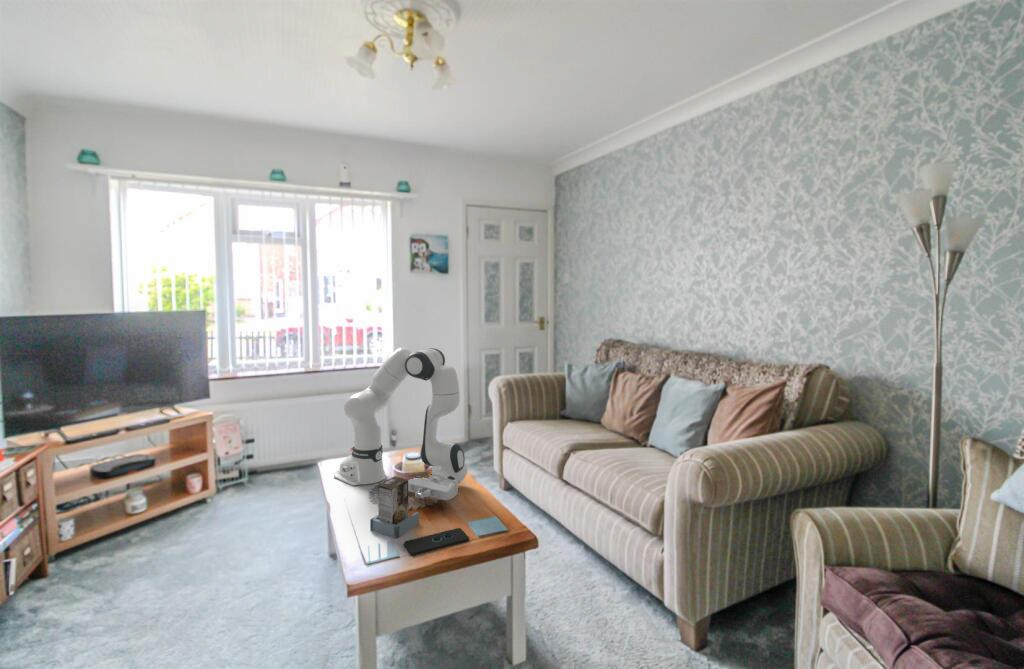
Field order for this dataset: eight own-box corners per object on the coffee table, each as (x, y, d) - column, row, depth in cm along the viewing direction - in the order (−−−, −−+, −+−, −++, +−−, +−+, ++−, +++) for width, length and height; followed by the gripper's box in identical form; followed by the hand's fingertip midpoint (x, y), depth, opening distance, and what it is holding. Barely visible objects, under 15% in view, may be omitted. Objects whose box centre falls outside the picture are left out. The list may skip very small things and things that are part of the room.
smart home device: (469, 537, 161) (411, 553, 151) (469, 542, 161) (411, 558, 151) (459, 526, 168) (403, 540, 158) (459, 531, 168) (403, 546, 158)
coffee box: (394, 518, 175) (394, 475, 174) (409, 522, 173) (409, 479, 171) (377, 530, 167) (377, 484, 165) (392, 534, 164) (392, 488, 163)
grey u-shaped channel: (370, 530, 167) (370, 519, 166) (393, 515, 177) (393, 505, 177) (396, 538, 162) (396, 527, 161) (419, 523, 173) (419, 512, 172)
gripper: (418, 470, 197) (396, 482, 185) (461, 480, 189) (440, 493, 176) (418, 485, 198) (396, 498, 186) (460, 495, 189) (440, 509, 177)
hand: (418, 495), depth 181 cm, fingers closed
